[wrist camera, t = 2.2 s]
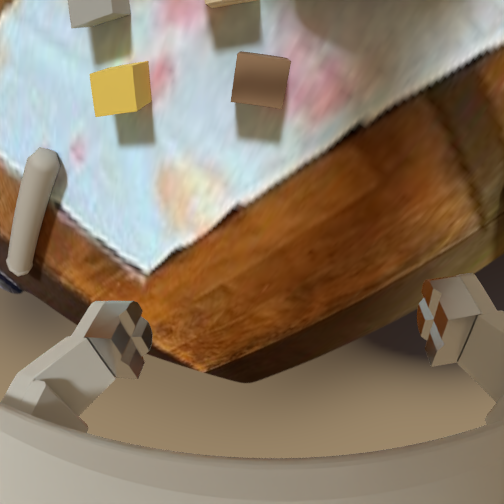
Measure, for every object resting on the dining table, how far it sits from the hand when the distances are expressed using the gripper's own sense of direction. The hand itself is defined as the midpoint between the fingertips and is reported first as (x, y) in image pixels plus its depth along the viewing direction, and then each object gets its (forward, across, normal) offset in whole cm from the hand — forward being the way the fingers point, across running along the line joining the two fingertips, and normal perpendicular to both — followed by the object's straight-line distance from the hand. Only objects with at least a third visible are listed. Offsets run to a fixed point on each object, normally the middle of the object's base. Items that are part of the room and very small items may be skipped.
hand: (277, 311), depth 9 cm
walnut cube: (+30, +2, -5) cm, 31 cm away
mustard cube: (+29, +16, -8) cm, 34 cm away
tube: (+29, +40, +5) cm, 49 cm away
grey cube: (+28, +17, -19) cm, 38 cm away
